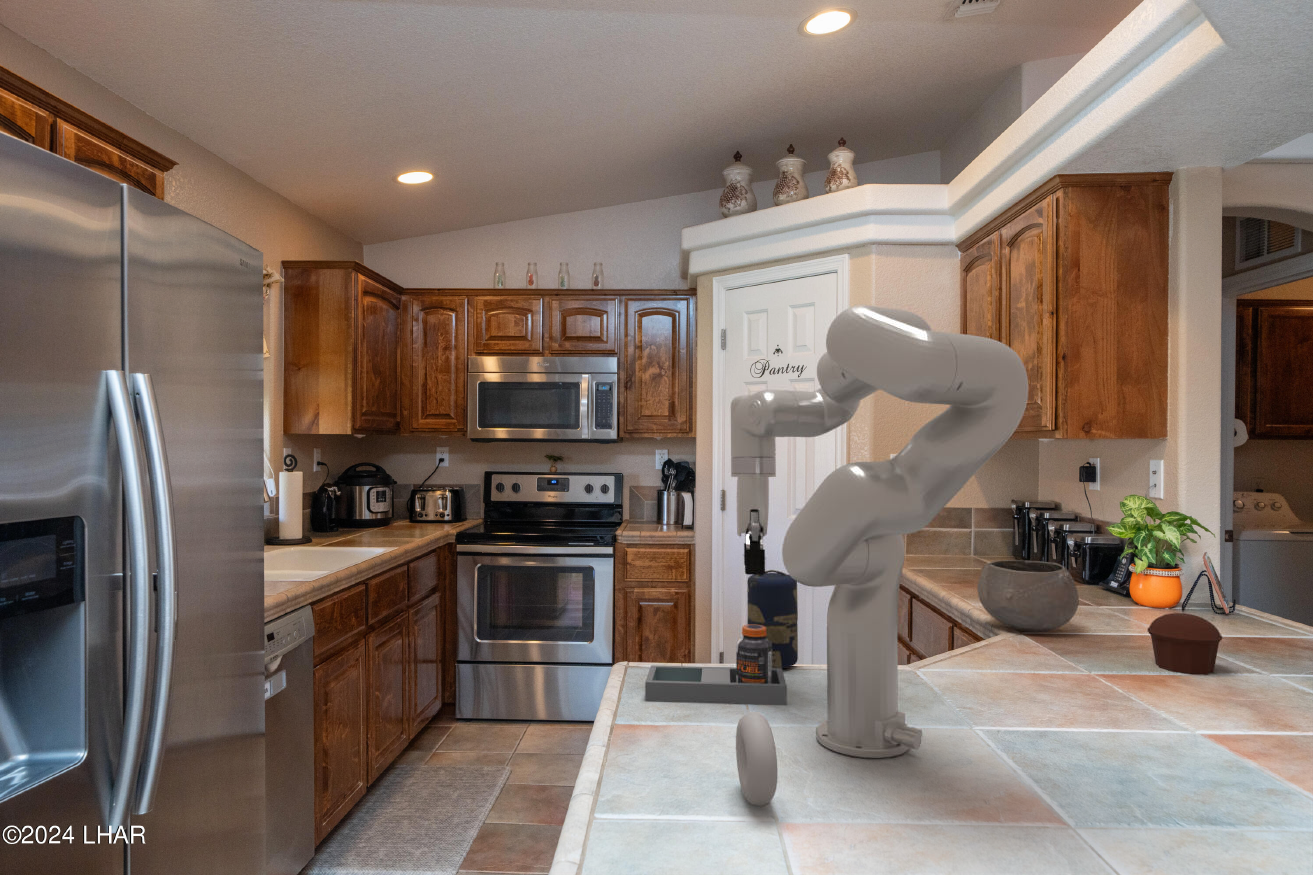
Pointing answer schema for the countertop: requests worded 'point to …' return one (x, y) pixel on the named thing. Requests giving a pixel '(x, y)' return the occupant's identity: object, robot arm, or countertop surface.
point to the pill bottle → (754, 656)
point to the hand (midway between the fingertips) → (754, 570)
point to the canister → (776, 614)
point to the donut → (756, 758)
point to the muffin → (1184, 643)
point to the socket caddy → (711, 686)
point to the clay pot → (1028, 594)
